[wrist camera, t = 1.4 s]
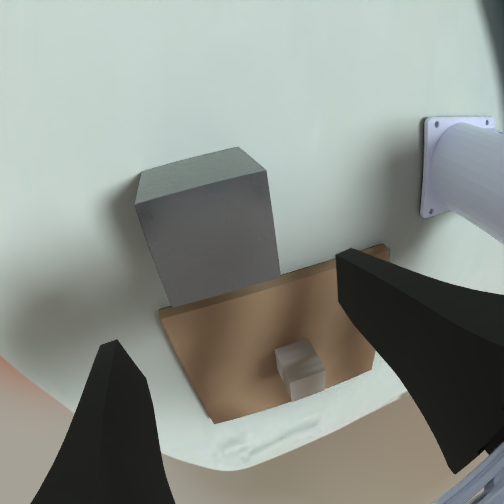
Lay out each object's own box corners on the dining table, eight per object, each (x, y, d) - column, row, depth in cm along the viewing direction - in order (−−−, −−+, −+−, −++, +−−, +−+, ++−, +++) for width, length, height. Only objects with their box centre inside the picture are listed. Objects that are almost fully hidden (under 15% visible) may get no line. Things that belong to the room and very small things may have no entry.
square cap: (238, 146, 17) (266, 170, 13) (253, 232, 20) (280, 277, 15) (141, 171, 16) (134, 204, 12) (167, 255, 19) (172, 308, 15)
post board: (382, 243, 23) (418, 275, 19) (366, 363, 31) (387, 393, 27) (159, 309, 21) (162, 359, 17) (212, 416, 29) (221, 453, 25)
